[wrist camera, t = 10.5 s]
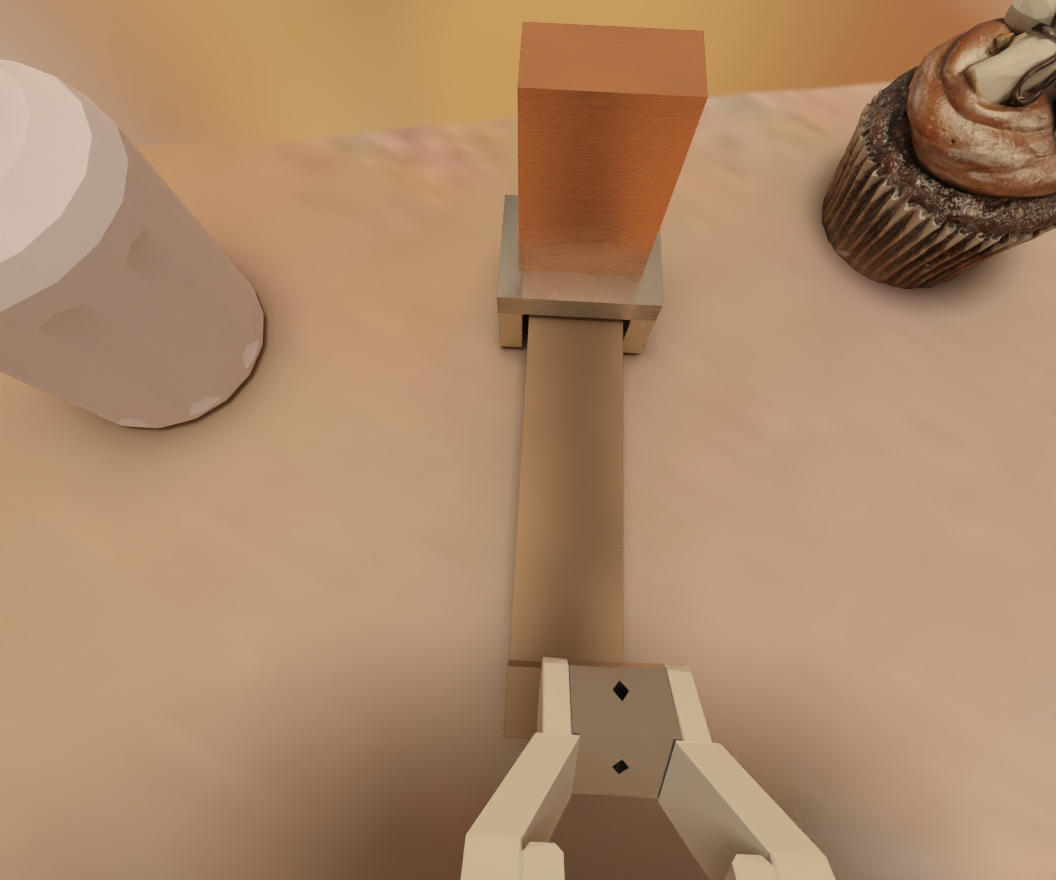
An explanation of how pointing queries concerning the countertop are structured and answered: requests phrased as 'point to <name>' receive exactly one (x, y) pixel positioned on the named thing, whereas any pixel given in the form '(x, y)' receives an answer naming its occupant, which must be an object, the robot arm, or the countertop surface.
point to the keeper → (596, 172)
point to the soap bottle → (109, 269)
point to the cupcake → (953, 156)
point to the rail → (567, 507)
